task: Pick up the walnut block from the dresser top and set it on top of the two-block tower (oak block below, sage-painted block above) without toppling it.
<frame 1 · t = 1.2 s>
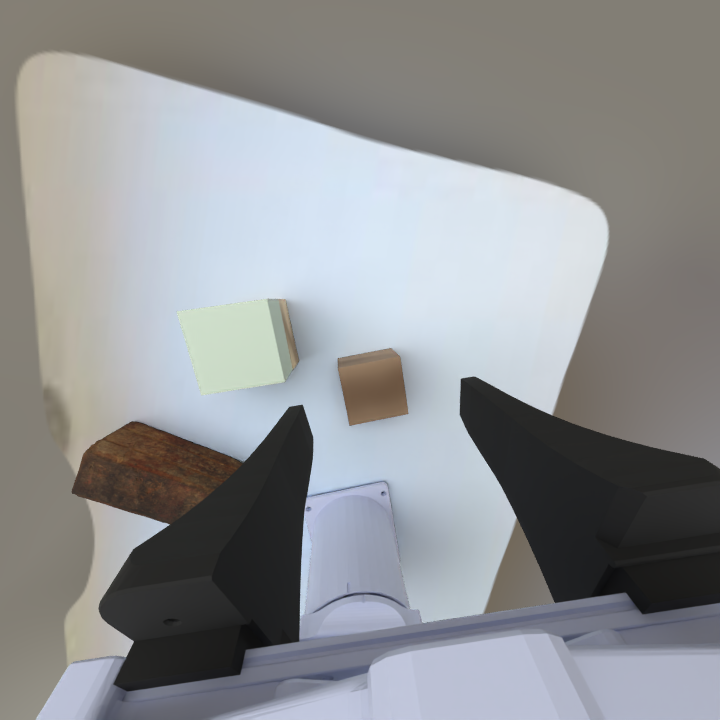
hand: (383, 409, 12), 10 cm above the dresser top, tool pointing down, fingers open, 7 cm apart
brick: (192, 459, 23), on the dresser top
walnut block: (368, 378, 23), on the dresser top
oak block: (261, 335, 21), on the dresser top, touching sage block
sage block: (249, 340, 18), point 3 cm above the dresser top, touching oak block
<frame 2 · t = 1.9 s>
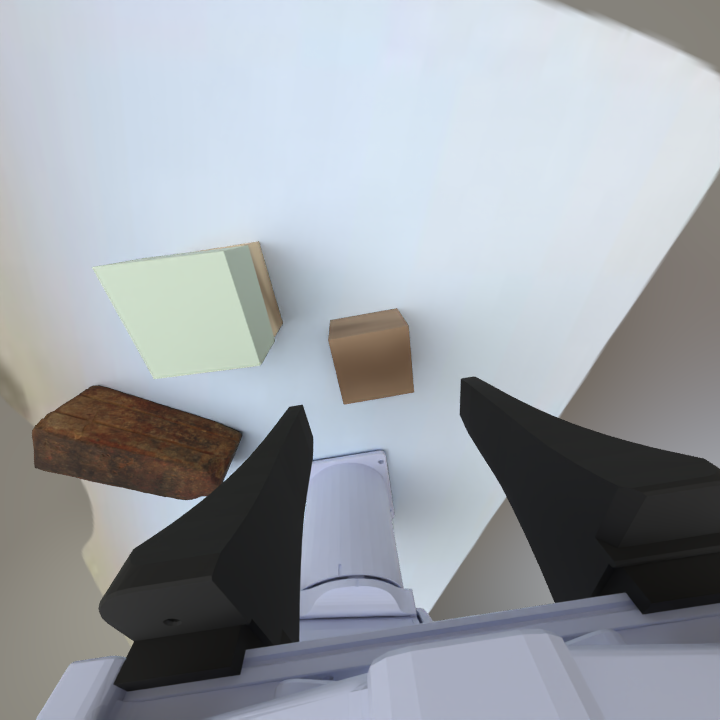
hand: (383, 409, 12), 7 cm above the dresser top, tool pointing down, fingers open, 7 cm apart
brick: (173, 422, 21), on the dresser top
walnut block: (368, 343, 19), on the dresser top
oak block: (232, 290, 17), on the dresser top, touching sage block
sage block: (215, 302, 14), point 3 cm above the dresser top, touching oak block
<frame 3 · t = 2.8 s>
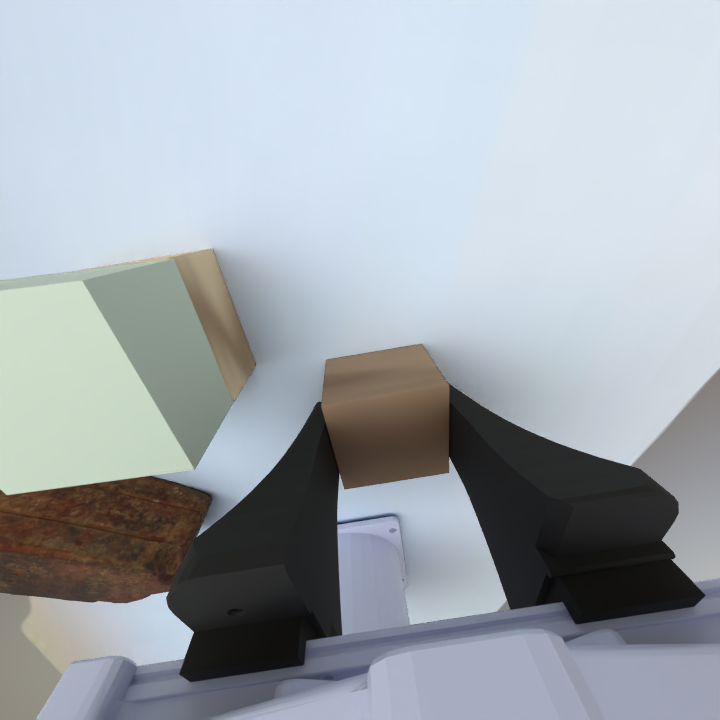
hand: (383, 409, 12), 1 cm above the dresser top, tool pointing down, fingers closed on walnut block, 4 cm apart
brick: (118, 482, 16), on the dresser top
walnut block: (379, 391, 13), on the dresser top, touching gripper
oak block: (180, 320, 11), on the dresser top, touching sage block
sage block: (130, 350, 9), point 3 cm above the dresser top, touching oak block
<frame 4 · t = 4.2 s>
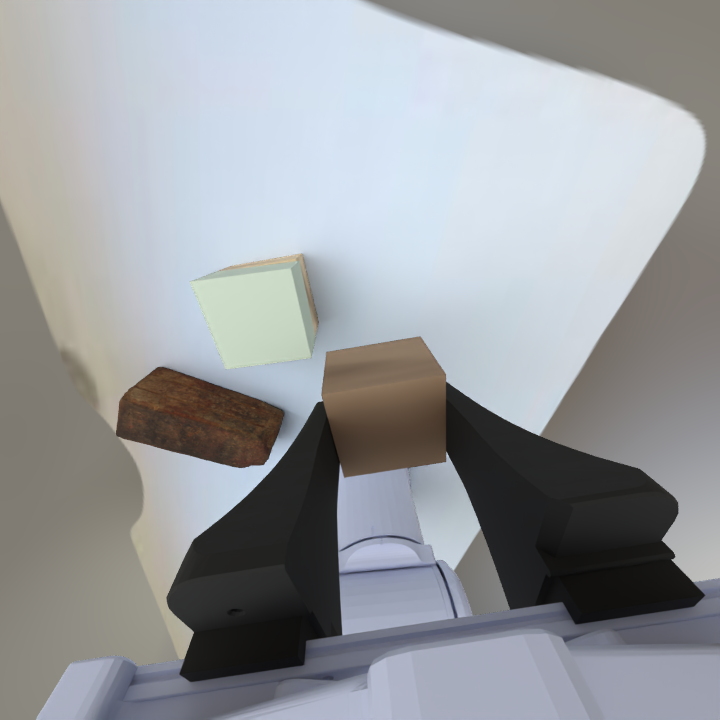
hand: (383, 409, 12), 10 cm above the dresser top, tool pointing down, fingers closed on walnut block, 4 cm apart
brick: (222, 401, 24), on the dresser top
walnut block: (378, 383, 14), point 8 cm above the dresser top, touching gripper
oak block: (277, 295, 19), on the dresser top, touching sage block
sage block: (269, 307, 17), point 3 cm above the dresser top, touching oak block
when the fingers open (9 cm above the dresser top, at t = 5.4 s): walnut block stays where it is, resting on sage block.
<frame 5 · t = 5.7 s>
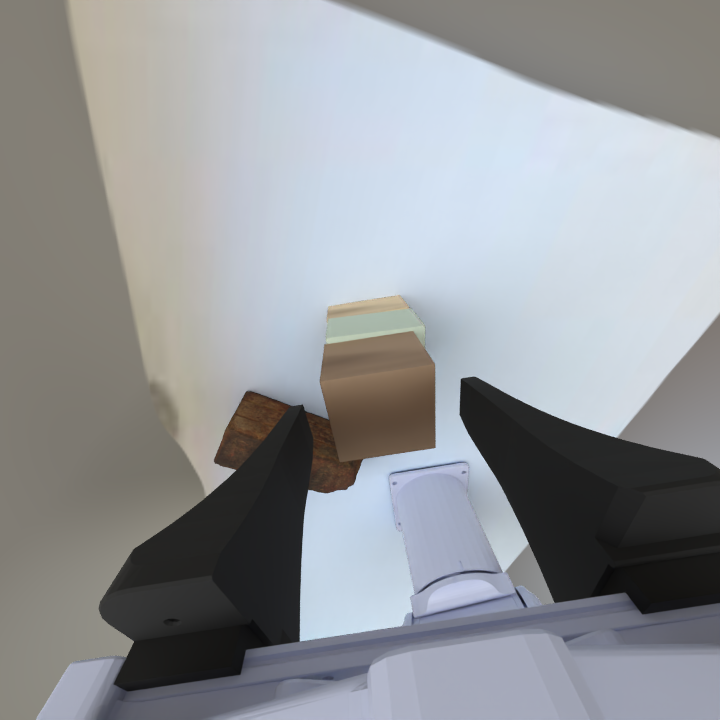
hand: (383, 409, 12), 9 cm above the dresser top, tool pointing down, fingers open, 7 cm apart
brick: (300, 424, 24), on the dresser top
walnut block: (373, 375, 14), point 6 cm above the dresser top, touching sage block
oak block: (368, 333, 20), on the dresser top, touching sage block
sage block: (373, 350, 17), point 3 cm above the dresser top, touching oak block, walnut block
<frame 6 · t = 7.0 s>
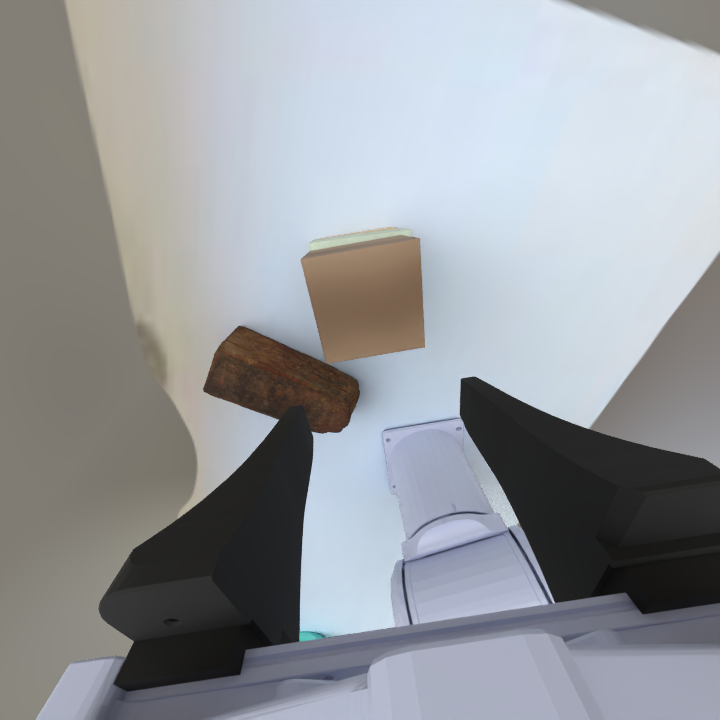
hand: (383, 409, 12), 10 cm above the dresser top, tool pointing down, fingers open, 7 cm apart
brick: (294, 368, 23), on the dresser top
walnut block: (362, 288, 14), point 6 cm above the dresser top, touching sage block
sage block: (361, 277, 17), point 3 cm above the dresser top, touching oak block, walnut block
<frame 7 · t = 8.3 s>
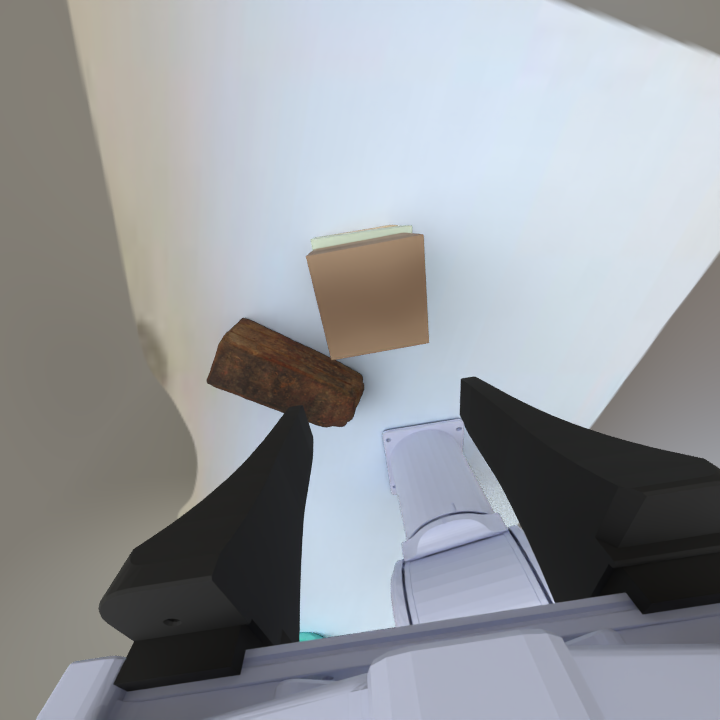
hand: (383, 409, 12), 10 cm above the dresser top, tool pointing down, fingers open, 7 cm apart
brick: (298, 361, 23), on the dresser top
walnut block: (366, 286, 14), point 6 cm above the dresser top, touching sage block
sage block: (362, 275, 17), point 3 cm above the dresser top, touching oak block, walnut block
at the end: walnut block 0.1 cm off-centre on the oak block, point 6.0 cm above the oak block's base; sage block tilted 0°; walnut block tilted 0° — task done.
